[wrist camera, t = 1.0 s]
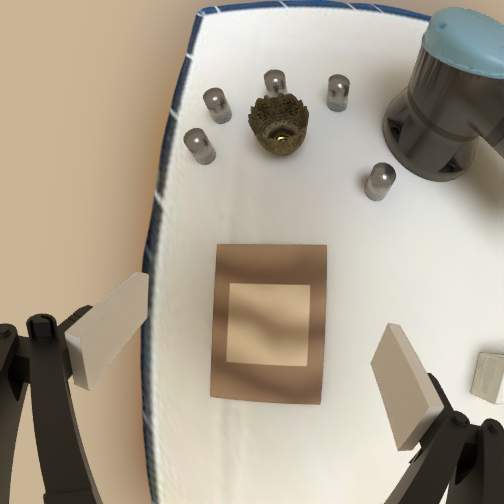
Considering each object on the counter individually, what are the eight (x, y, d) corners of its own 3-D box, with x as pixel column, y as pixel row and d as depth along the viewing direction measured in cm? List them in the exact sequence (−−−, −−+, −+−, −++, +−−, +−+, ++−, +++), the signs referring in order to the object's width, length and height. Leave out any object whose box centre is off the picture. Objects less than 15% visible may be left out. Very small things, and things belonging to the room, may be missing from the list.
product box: (508, 353, 31) (536, 357, 24) (498, 393, 30) (525, 403, 23) (478, 351, 32) (506, 356, 25) (468, 393, 31) (494, 405, 24)
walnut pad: (218, 245, 41) (217, 244, 40) (326, 246, 39) (326, 244, 38) (212, 395, 38) (210, 396, 37) (320, 402, 35) (320, 404, 34)
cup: (305, 122, 43) (303, 88, 35) (313, 165, 41) (313, 134, 34) (255, 129, 44) (245, 96, 36) (260, 171, 42) (250, 142, 35)
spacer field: (263, 63, 47) (258, 41, 41) (416, 142, 39) (427, 123, 34) (181, 151, 45) (166, 133, 40) (343, 259, 38) (349, 251, 33)
